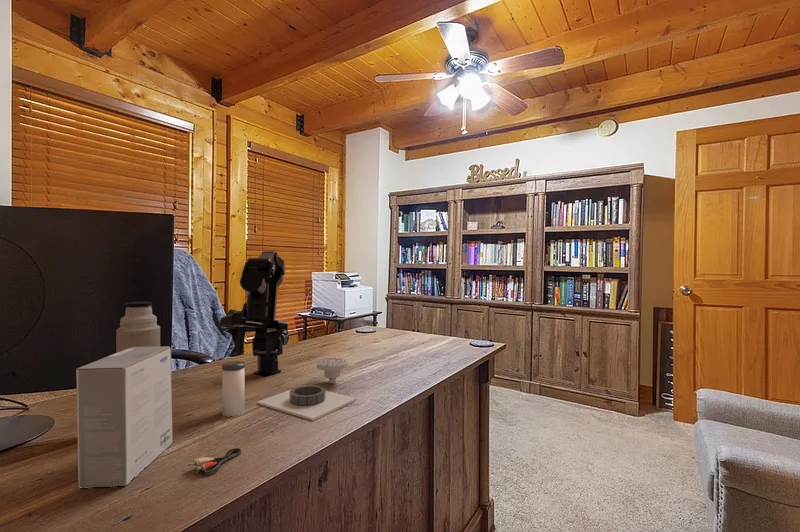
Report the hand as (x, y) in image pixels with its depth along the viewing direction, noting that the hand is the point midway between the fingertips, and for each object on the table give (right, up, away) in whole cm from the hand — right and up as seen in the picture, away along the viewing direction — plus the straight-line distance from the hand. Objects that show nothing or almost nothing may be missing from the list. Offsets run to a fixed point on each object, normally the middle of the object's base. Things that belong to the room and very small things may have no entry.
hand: (254, 355), depth 106 cm
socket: (+16, -11, -4) cm, 20 cm away
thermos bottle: (-17, -11, -21) cm, 30 cm away
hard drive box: (-9, -12, -36) cm, 39 cm away
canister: (-1, -11, -12) cm, 16 cm away
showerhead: (+19, -11, +12) cm, 26 cm away
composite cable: (+7, -12, -36) cm, 38 cm away
